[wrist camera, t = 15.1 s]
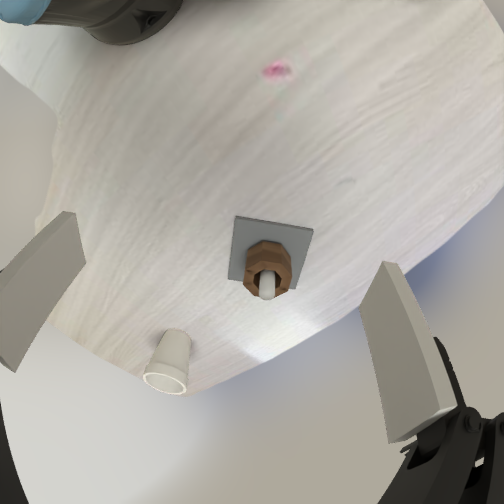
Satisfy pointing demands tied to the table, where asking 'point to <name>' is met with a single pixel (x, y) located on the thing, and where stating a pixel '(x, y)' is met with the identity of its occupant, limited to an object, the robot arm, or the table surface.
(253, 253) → the brown faceted ring
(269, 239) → the grey peg stand
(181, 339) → the foam cup
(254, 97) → the table surface
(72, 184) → the table surface
